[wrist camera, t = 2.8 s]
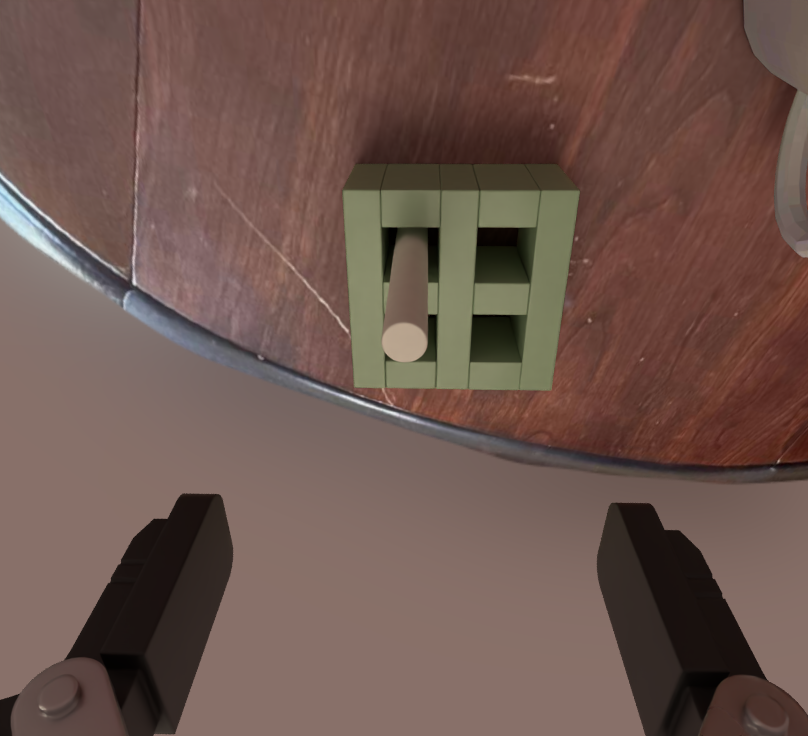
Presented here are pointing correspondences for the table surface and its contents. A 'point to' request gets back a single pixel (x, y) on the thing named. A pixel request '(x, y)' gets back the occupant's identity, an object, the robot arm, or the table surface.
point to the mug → (804, 131)
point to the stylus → (407, 297)
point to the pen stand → (463, 271)
